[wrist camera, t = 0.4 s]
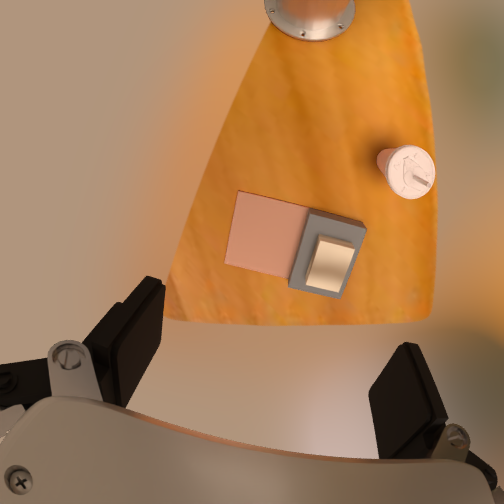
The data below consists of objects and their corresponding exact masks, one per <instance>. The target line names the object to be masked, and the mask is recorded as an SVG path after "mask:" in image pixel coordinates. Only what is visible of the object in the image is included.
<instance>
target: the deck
mask: <svg viewBox="0 0 504 504" xmlns="http://www.w3.org/2000/svg"><path fill="white" fill-rule="evenodd" d="M366 231H367V228H366V227H365V225H364V224H363V222H360V221H356V220H353V219H349V218H346V217H342V216H339V215H335V214H331V213H328V212H324V211H320V210H316V209H313V208H309V210H308V214H307V218H306V221H305V225H304V228H303V231H302V235H301V238H300V242H299V245H298V249H297V252H296V255H295V259H294V262H293V265H292V269H291V272H290V275H289V278H288V287H289V288H293V289H298V290H302V291H306V292H311V293H315V294H319V295H324V296H328V297H332V298H337V299H340V298H341V296H342V293H343V291H344V289H345V286H346V284H347V281H348V279H349V276H350V274H351V271H352V268H353V266H354V263H355V261H356V258H357V255H358V253H359V250H360V247H361V245H362V242H363V239H364V236H365V233H366ZM319 234H322V235H326V236H330V237H333V238H337V239H341V240H345V241H348V242H352V244H353V246H354V248H355V251H354V254H353V256H352V259H351V262H350V264H349V267H348V270H347V272H346V275H345V277H344V280H343V282H342V285H341V288H340V290H339V292H334V291H330V290H326V289H321V288H317V287H313V286H309V285H306V280H305V276H306V273H307V270H308V267H309V263H310V260H311V257H312V254H313V251H314V248H315V245H316V242H317V238H318V235H319Z"/></svg>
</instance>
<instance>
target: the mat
mask: <svg viewBox="0 0 504 504" xmlns="http://www.w3.org/2000/svg"><path fill="white" fill-rule="evenodd" d="M308 210H309V207H305V206H301V205H297V204H293V203H289V202H285V201H281V200H277V199H273V198H269V197H265V196H260V195H256V194H252V193H247V192H243V191H238V195H237V200H236V205H235V210H234V215H233V220H232V225H231V231H230V236H229V241H228V246H227V251H226V257H225V262H224V263H225V264H229V265H233V266H238V267H242V268H246V269H250V270H254V271H258V272H262V273H266V274H270V275H274V276H279V277H283V278H287V279H288V278H289V275H290V272H291V269H292V265H293V262H294V259H295V255H296V252H297V249H298V245H299V242H300V238H301V235H302V231H303V228H304V225H305V221H306V218H307V214H308Z"/></svg>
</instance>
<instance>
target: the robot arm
mask: <svg viewBox="0 0 504 504" xmlns="http://www.w3.org/2000/svg"><path fill="white" fill-rule="evenodd" d="M264 3H265V9H266V13H267V14H268V17H269V19H270V20H271V22H272V23H273V24H274V25H275V26H276V27H277V28H278V29H279V30H280V31H282V32H283V33H285V34H287V35H288V36H291V37H293V38H295V39H299V40H303V41H311V42H317V41H325V40H330V39H332V38H335V37H337V36H339V35H340V34H342V33H343V32H344V31H346V30H347V29H348V27H349V26H350V24H351V23H352V21H353V19H354V15H355V3H354V0H264ZM271 12H274V13H271ZM339 27H342V29H340V28H339ZM301 34H304V35H305V36H301ZM165 290H166V286H165V285H163V284H162V281H161V280H160V279H157V278H153V277H150V276H146V277H145V278H144V279H143V280H142V281H141V282H140V284H139V285H138V286H137V287H136V288H135V289H134V290H133V292H132V293H131V294H130V295H129V296H128V297H127V299H126V300H125V301H124V302H123V303H121V302H117V303H116V304H114V306H113V307H112V308H111V309H110V310H109V311H108V312H107V314H106V315H105V316H104V317H103V318H102V319H101V320H100V322H99V323H98V324H97V325H96V326H95V328H94V329H93V330H92V331H91V332H90V334H89V335H88V336H87V337H86V338H85V339H84V341H83V342H82V343H80V342H78V341H74V340H65V341H60V342H58V343H56V344H54V345H53V346H52V347H51V348H50V350H49V352H48V357H47V358H42V359H36V360H29V361H23V362H15V363H8V364H1V365H0V438H1V437H3V436H5V435H6V436H5V438H4V439H3V441H2V442H1V444H0V504H504V491H503V490H502V488H501V487H500V486H498V487H496V486H497V475H496V472H495V470H494V469H493V468H492V467H490V466H489V465H488V464H486V463H485V462H484V461H483V460H482V459H480V458H479V457H478V456H476V455H475V454H474V453H472V452H471V451H470V450H469V448H470V443H471V441H470V437H469V434H468V433H467V431H466V430H465V429H464V428H463V427H462V426H460V425H458V424H454V423H452V424H448V425H447V426H446V424H445V422H446V421H447V420H448V416H447V413H446V410H445V407H444V405H443V402H442V400H441V397H440V394H439V392H438V390H437V387H436V385H435V382H434V380H433V377H432V375H431V372H430V370H429V368H428V365H427V363H426V361H425V359H424V357H423V354H422V352H421V350H420V348H419V346H418V344H414V343H409V342H404V343H403V344H402V345H399V346H398V348H397V349H396V351H395V353H394V354H393V356H392V357H391V359H390V360H389V362H388V363H387V365H386V366H385V368H384V369H383V371H382V372H381V374H380V375H379V377H378V378H377V379H376V381H375V382H374V384H373V385H372V386H371V388H370V390H369V402H370V407H371V412H372V417H373V423H374V429H375V435H376V441H377V448H378V454H379V459H361V458H344V457H332V456H321V455H312V454H304V453H297V452H289V451H283V450H277V449H271V448H266V447H261V446H255V445H250V444H245V443H241V442H236V441H232V440H228V439H223V438H219V437H215V436H212V435H208V434H204V433H201V432H197V431H194V430H190V429H187V428H184V427H180V426H177V425H173V424H170V423H167V422H164V421H160V420H158V419H155V418H152V417H149V416H146V415H143V414H141V413H137V412H134V411H131V410H128V409H126V406H127V404H128V402H129V400H130V398H131V396H132V395H133V393H134V391H135V389H136V387H137V385H138V384H139V382H140V380H141V378H142V376H143V374H144V373H145V371H146V369H147V367H148V365H149V363H150V362H151V360H152V357H153V356H154V354H155V353H156V351H157V349H158V347H159V344H160V342H161V333H162V321H163V310H164V299H165ZM9 430H10V431H9ZM7 431H9V432H8V433H6V432H7ZM31 475H32V476H31Z"/></svg>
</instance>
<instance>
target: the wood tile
mask: <svg viewBox="0 0 504 504" xmlns="http://www.w3.org/2000/svg"><path fill="white" fill-rule="evenodd" d="M354 251H355V248H354V246H353V244H352V242H348V241H345V240H341V239H337V238H333V237H330V236H326V235H322V234H319V235H318V238H317V242H316V245H315V248H314V251H313V254H312V257H311V260H310V263H309V267H308V270H307V273H306V276H305V280H306V285H309V286H313V287H317V288H321V289H326V290H330V291H334V292H339V290H340V288H341V285H342V282H343V280H344V277H345V275H346V272H347V270H348V267H349V264H350V262H351V259H352V256H353V254H354Z"/></svg>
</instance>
